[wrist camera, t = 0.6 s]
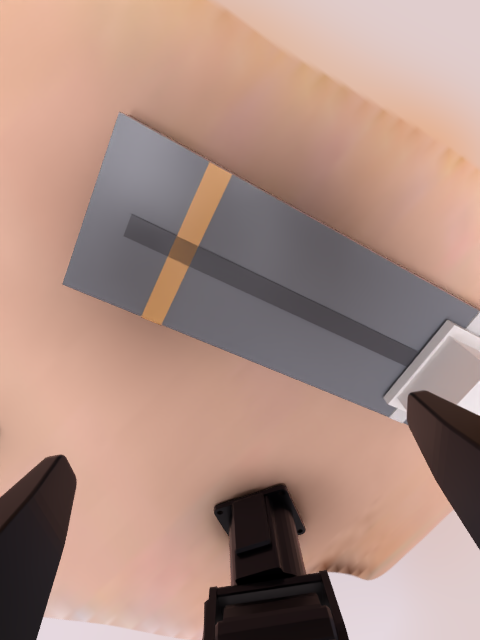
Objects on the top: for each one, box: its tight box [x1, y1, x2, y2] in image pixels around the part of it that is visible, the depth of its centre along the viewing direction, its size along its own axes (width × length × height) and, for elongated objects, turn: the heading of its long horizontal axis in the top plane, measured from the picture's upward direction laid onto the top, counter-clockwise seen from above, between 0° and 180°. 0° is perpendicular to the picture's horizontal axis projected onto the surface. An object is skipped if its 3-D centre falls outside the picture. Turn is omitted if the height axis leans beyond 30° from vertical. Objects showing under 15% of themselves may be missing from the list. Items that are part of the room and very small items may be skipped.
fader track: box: [63, 112, 480, 425], centre depth 22 cm, size 28×9×2 cm, turn 63°
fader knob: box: [383, 320, 480, 416], centre depth 21 cm, size 4×6×4 cm
